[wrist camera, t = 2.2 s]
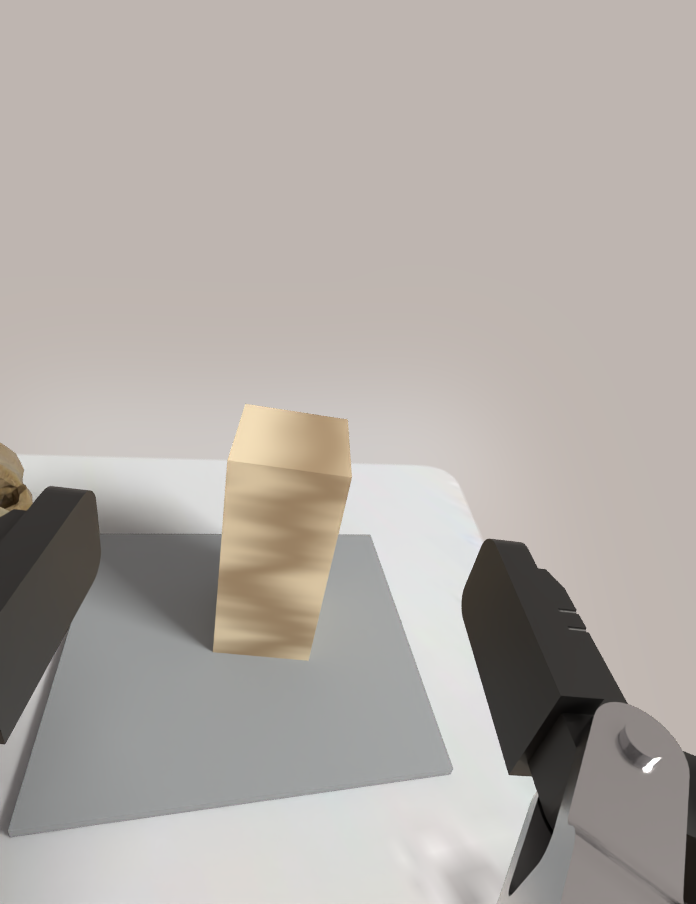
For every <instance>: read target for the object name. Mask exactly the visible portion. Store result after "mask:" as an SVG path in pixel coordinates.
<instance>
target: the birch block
mask: <svg viewBox="0 0 696 904" xmlns="http://www.w3.org/2000/svg"><path fill="white" fill-rule="evenodd" d="M351 479H352V473H351V459H350V445H349V432H348V420H347V419H340V418H334V417H327V416H320V415H314V414H308V413H301V412H295V411H288V410H282V409H275V408H268V407H261V406H255V405H249V404H245V407H244V410H243V413H242V416H241V420H240V423H239V426H238V429H237V432H236V435H235V438H234V441H233V445H232V448H231V451H230V454H229V457H228V460H227V473H226V486H225V499H224V513H223V526H222V539H221V552H220V565H219V578H218V591H217V604H216V617H215V631H214V644H213V652H216V653H227V654H238V655H249V656H261V657H272V658H283V659H294V660H306V661H309V656H310V652H311V648H312V644H313V640H314V635H315V631H316V627H317V623H318V618H319V614H320V610H321V606H322V601H323V597H324V593H325V589H326V584H327V580H328V576H329V572H330V568H331V563H332V559H333V555H334V551H335V546H336V542H337V538H338V534H339V529H340V525H341V521H342V517H343V513H344V508H345V504H346V500H347V496H348V491H349V487H350V483H351Z"/></svg>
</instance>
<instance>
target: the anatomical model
mask: <svg viewBox="0 0 696 904" xmlns="http://www.w3.org/2000/svg"><path fill="white" fill-rule="evenodd" d="M23 472H24V469H23V467H22V465H21V462H20V460H19V459H18V457H17V455H16V453H14V452H13V451H11V450H10V449H9V448H7V447H6V446H5V445H3V444H2V443H0V517H1V516H3V515H5V514H6V513H8V512H10V511H11V510H13V509H18V510H28V509H29V507H30V506H31V505H32V504H33V501H32V494H31V492H30V491H29V490H28V488H27V487H26V485H24V484H23V481H22V478H23Z"/></svg>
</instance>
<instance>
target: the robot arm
mask: <svg viewBox="0 0 696 904" xmlns="http://www.w3.org/2000/svg"><path fill="white" fill-rule="evenodd" d="M100 558H101V545H100V535H99V525H98V515H97V505H96V497H95V495H94V493H93V492H92V491H88V490H80V489H71V488H63V487H54V486H50V487H47V488H46V489H45V490H44V491H43V492H42V493H41V494H40V495H39V497H38V498H37V499H36V500H35V501H34V503H33V504H32V505H31V506H30V507H29V509H28V510H18V509H13V510H11V511H10V512H8V513H6V514H5V515H3V516H1V517H0V744H6V742H7V740H8V738H9V736H10V734H11V733H12V731H13V729H14V727H15V725H16V723H17V722H18V720H19V718H20V716H21V714H22V712H23V711H24V709H25V707H26V705H27V703H28V701H29V700H30V698H31V696H32V694H33V692H34V690H35V688H36V687H37V685H38V683H39V681H40V679H41V677H42V676H43V674H44V672H45V670H46V668H47V666H48V665H49V663H50V661H51V659H52V657H53V655H54V654H55V652H56V650H57V648H58V646H59V644H60V643H61V641H62V639H63V637H64V635H65V633H66V632H67V630H68V628H69V626H70V624H71V622H72V621H73V619H74V617H75V615H76V613H77V611H78V610H79V608H80V606H81V604H82V602H83V600H84V599H85V597H86V595H87V593H88V591H89V589H90V588H91V586H92V584H93V582H94V580H95V578H96V575H97V572H98V569H99V564H100ZM462 616H463V620H464V624H465V627H466V630H467V634H468V637H469V641H470V644H471V647H472V651H473V654H474V658H475V661H476V665H477V668H478V671H479V675H480V678H481V682H482V685H483V688H484V692H485V695H486V699H487V702H488V706H489V709H490V712H491V716H492V719H493V723H494V726H495V729H496V733H497V736H498V740H499V743H500V746H501V750H502V753H503V757H504V760H505V764H506V767H507V770H508V774H509V775H517V776H532V777H533V780H534V784H535V787H536V790H537V792H536V793H535V795H534V796H533V798H532V800H531V803H530V806H529V809H528V812H527V815H526V818H525V821H524V824H523V827H522V830H521V833H520V836H519V839H518V842H517V845H516V848H515V851H514V854H513V857H512V860H511V863H510V866H509V869H508V872H507V875H506V878H505V881H504V884H503V887H502V890H501V893H500V896H499V899H498V901H497V904H696V756H694V755H691V754H689V753H686V752H684V751H682V749H681V747H680V746H679V744H678V743H677V741H676V740H675V738H674V737H673V736H672V735H671V734H670V733H669V731H668V730H667V729H666V728H665V727H664V726H663V725H662V724H661V723H659V722H658V721H657V720H656V719H654V718H653V717H652V716H650V715H649V714H647V713H646V712H644V711H642V710H640V709H639V708H636V707H634V706H632V705H629V704H628V703H627V702H626V700H625V698H624V696H623V694H622V693H621V691H620V689H619V687H618V685H617V683H616V682H615V680H614V678H613V676H612V674H611V673H610V671H609V669H608V667H607V665H606V663H605V661H604V660H603V658H602V656H601V654H600V652H599V651H598V649H597V647H596V645H595V643H594V641H593V640H592V638H591V636H590V634H589V633H588V632H586V627H585V625H584V623H583V621H582V620H581V618H580V616H579V614H576V608H575V607H574V605H573V603H572V601H571V599H570V597H569V596H568V594H567V592H566V590H565V588H564V587H562V585H561V584H560V583H559V582H558V581H556V579H555V578H554V577H553V576H552V575H551V574H550V573H549V572H548V571H547V570H545V569H538V568H537V566H536V564H535V562H534V560H533V558H532V556H531V554H530V552H529V550H528V548H527V546H525V544H523V543H521V542H513V541H505V540H496V539H487V540H485V541H484V543H483V544H482V546H481V549H480V551H479V553H478V556H477V558H476V561H475V563H474V565H473V568H472V570H471V573H470V575H469V578H468V580H467V582H466V585H465V587H464V590H463V595H462Z"/></svg>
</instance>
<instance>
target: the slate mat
mask: <svg viewBox="0 0 696 904" xmlns="http://www.w3.org/2000/svg"><path fill="white" fill-rule="evenodd" d="M99 535H100V545H101V558H100V564H99V569H98V572H97V575H96V578H95V580H94V582H93V584H92V586H91V588H90V589H89V591H88V593H87V595H86V597H85V599H84V600H83V602H82V604H81V606H80V608H79V610H78V611H77V613H76V615H75V617H74V619H73V621H72V622H71V625H70V628H69V632H68V635H67V638H66V641H65V645H64V648H63V651H62V655H61V658H60V661H59V664H58V668H57V671H56V674H55V678H54V681H53V684H52V687H51V691H50V694H49V697H48V701H47V704H46V707H45V710H44V714H43V717H42V720H41V723H40V727H39V730H38V733H37V737H36V740H35V743H34V746H33V750H32V753H31V756H30V760H29V763H28V766H27V769H26V773H25V776H24V779H23V783H22V786H21V789H20V792H19V796H18V799H17V802H16V805H15V809H14V812H13V815H12V819H11V822H10V825H9V828H8V833H9V836H10V837H15V836H22V835H29V834H36V833H43V832H50V831H57V830H64V829H71V828H78V827H85V826H92V825H99V824H106V823H113V822H120V821H127V820H134V819H141V818H148V817H155V816H162V815H169V814H176V813H183V812H190V811H197V810H204V809H211V808H218V807H225V806H232V805H239V804H246V803H253V802H260V801H267V800H274V799H281V798H288V797H295V796H302V795H309V794H316V793H323V792H330V791H337V790H344V789H351V788H358V787H365V786H372V785H379V784H386V783H393V782H400V781H407V780H414V779H421V778H428V777H435V776H442V775H449V774H451V772H452V770H453V767H452V764H451V761H450V758H449V755H448V753H447V750H446V747H445V744H444V741H443V739H442V736H441V733H440V730H439V727H438V724H437V722H436V719H435V716H434V713H433V710H432V707H431V705H430V702H429V699H428V696H427V693H426V691H425V688H424V685H423V682H422V679H421V676H420V674H419V671H418V668H417V665H416V662H415V659H414V657H413V654H412V651H411V648H410V645H409V643H408V640H407V637H406V634H405V631H404V628H403V626H402V623H401V620H400V617H399V614H398V612H397V609H396V606H395V603H394V600H393V597H392V595H391V592H390V589H389V586H388V583H387V580H386V578H385V575H384V572H383V569H382V566H381V564H380V561H379V558H378V555H377V552H376V549H375V547H374V544H373V541H372V538H371V535H338V538H337V542H336V546H335V551H334V555H333V559H332V563H331V568H330V572H329V576H328V580H327V584H326V589H325V593H324V597H323V601H322V606H321V610H320V614H319V618H318V623H317V627H316V631H315V635H314V640H313V644H312V648H311V652H310V656H309V661H306V660H294V659H283V658H272V657H261V656H249V655H238V654H227V653H216V652H213V644H214V631H215V617H216V604H217V591H218V578H219V565H220V552H221V539H222V534H99Z"/></svg>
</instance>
